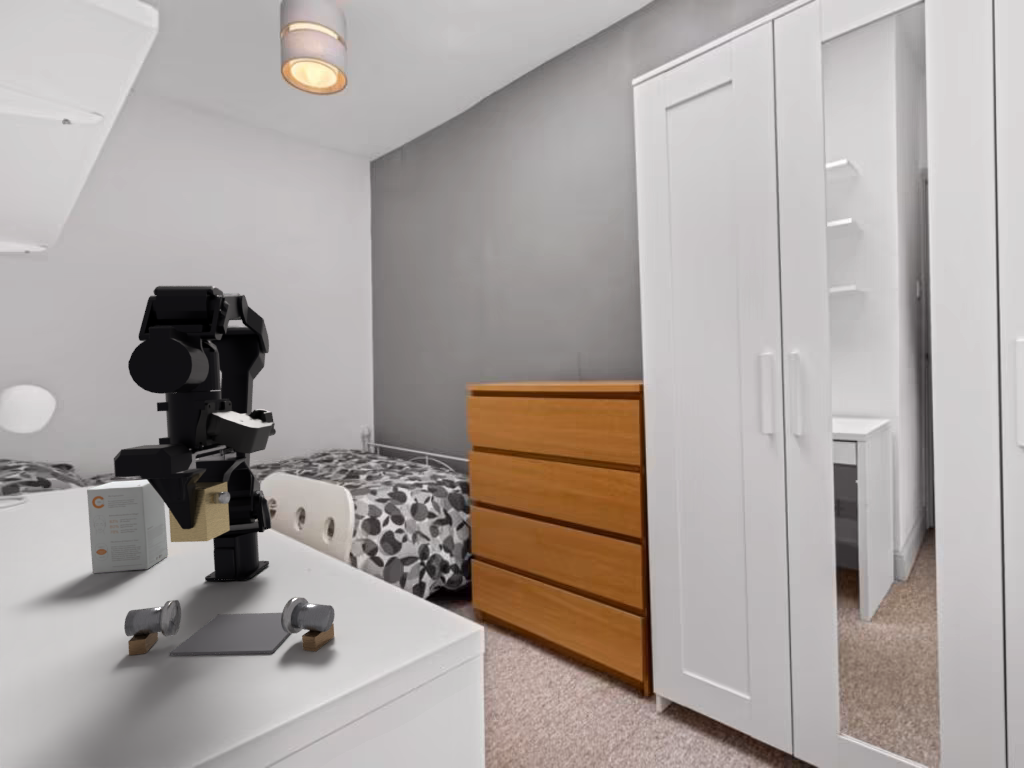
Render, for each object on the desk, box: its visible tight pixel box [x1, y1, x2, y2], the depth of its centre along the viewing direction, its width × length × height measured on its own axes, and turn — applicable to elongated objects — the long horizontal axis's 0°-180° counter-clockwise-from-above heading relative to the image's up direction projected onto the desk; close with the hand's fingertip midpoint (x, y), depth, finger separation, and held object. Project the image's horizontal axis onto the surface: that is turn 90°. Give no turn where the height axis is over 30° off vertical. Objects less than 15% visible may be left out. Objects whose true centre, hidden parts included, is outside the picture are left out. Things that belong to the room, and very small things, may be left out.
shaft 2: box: [281, 596, 335, 652], centre depth 59 cm, size 4×4×5 cm
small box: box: [86, 479, 169, 574], centre depth 87 cm, size 8×6×13 cm
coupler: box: [168, 482, 230, 543], centre depth 66 cm, size 4×7×6 cm, turn 86°
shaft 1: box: [124, 599, 182, 656], centre depth 60 cm, size 4×4×5 cm
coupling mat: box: [169, 612, 291, 656], centre depth 62 cm, size 9×11×1 cm
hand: (200, 523), depth 66 cm, fingers closed on coupler, 4 cm apart
